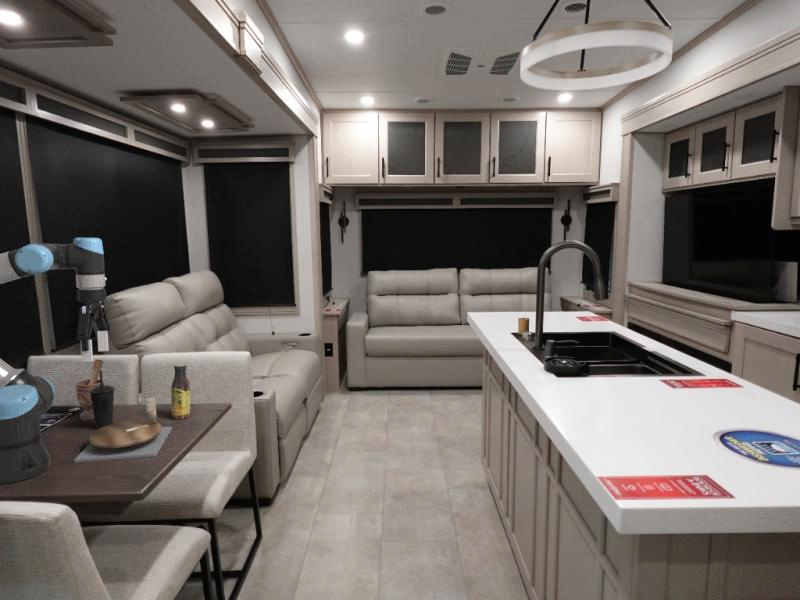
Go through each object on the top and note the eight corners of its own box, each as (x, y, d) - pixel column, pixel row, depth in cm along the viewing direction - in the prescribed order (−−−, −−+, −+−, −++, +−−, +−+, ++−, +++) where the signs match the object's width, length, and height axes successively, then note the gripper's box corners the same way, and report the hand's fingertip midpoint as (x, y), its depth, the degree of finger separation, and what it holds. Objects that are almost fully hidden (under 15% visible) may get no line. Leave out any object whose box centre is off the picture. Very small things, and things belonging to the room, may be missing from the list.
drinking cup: (122, 423, 176) (118, 368, 174) (107, 431, 169) (103, 374, 166) (101, 422, 177) (98, 367, 174) (86, 430, 169) (82, 373, 167)
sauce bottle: (168, 418, 182) (165, 365, 179) (182, 413, 187) (180, 361, 185) (180, 421, 179) (177, 367, 176) (194, 416, 184) (192, 363, 182)
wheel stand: (74, 462, 146) (74, 459, 146) (101, 433, 167) (101, 431, 167) (155, 456, 151) (155, 453, 151) (171, 428, 172) (171, 426, 172)
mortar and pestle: (82, 411, 187) (78, 359, 185) (109, 409, 191) (105, 357, 188) (75, 422, 177) (71, 367, 174) (103, 419, 180) (100, 365, 177)
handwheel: (106, 460, 145) (103, 420, 143) (79, 442, 157) (76, 405, 156) (173, 439, 161) (171, 402, 159) (144, 424, 173) (142, 390, 171)
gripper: (89, 292, 142) (94, 365, 144) (118, 284, 166) (121, 346, 168) (59, 292, 140) (65, 366, 143) (93, 284, 164) (97, 347, 167)
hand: (95, 356), depth 156 cm, fingers open, 13 cm apart
